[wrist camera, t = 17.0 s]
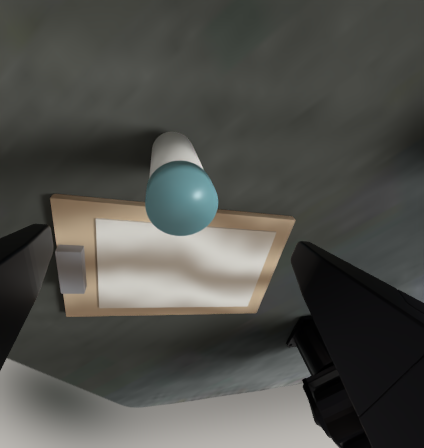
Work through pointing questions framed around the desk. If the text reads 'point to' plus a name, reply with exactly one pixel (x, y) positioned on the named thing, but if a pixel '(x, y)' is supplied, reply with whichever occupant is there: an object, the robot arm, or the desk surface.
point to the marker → (178, 187)
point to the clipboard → (161, 260)
